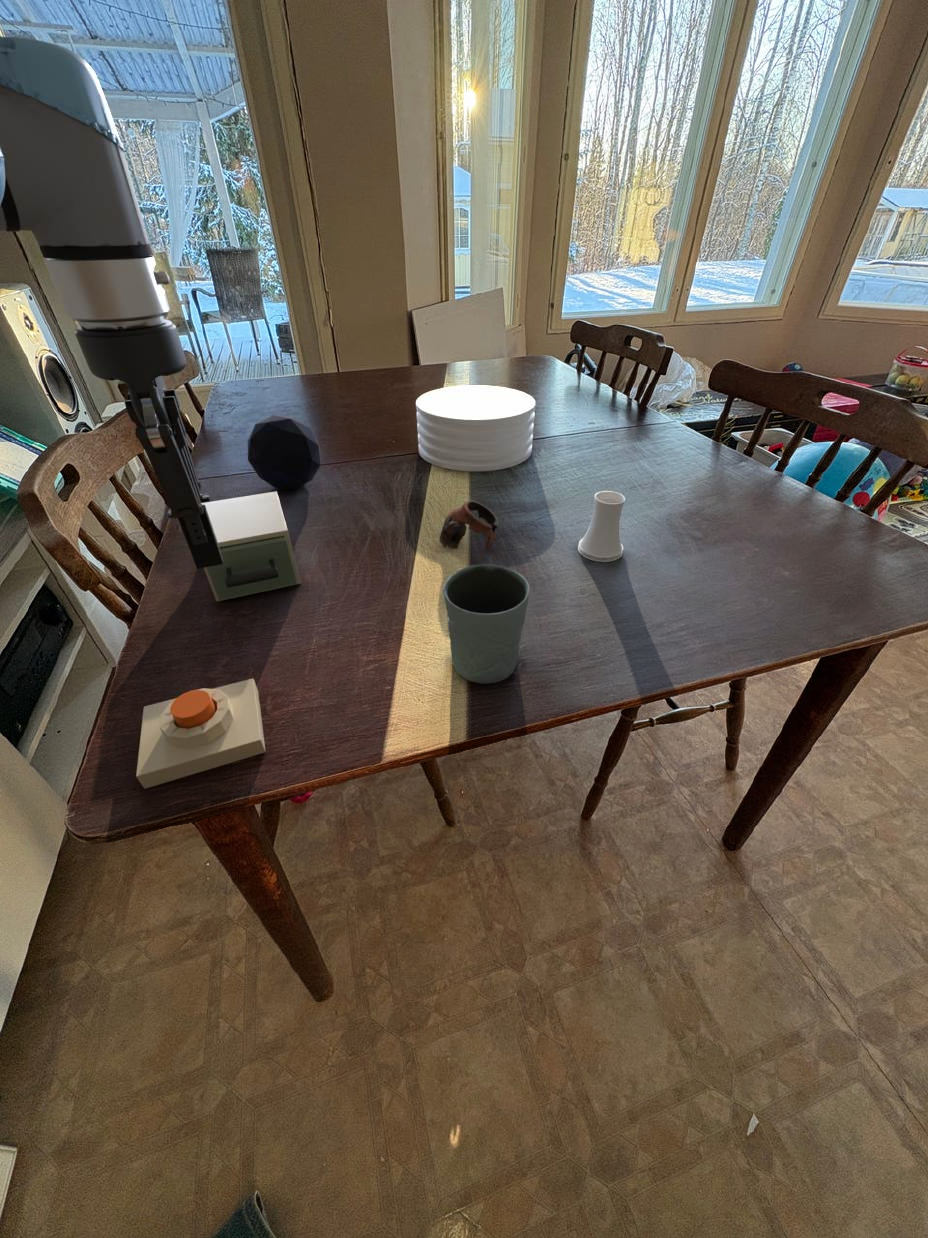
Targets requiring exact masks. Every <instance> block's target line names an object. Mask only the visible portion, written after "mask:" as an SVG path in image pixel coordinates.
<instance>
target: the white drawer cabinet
mask: <svg viewBox="0 0 928 1238" xmlns="http://www.w3.org/2000/svg"><path fill="white" fill-rule="evenodd" d="M280 501H281V500H280V498H279V495H278V491H277V490H275V491H270V492H263V493H257V494H250V495H245V496H244V495H243V496H238V497H231V498H226V499H219V500H214V501H212V500H211V501H210V502H204V503H201V504H203V505H205V506H206V509H207V512H208V515H209V518H210V521H211V524H212V527H213V530H214V533H215V536H216V539H217V542H218V545H219V548H220V547H225V546H231V545H236V544H241V543H247V542H252V541H258V540H263V539H268V538H274V537H279V536H280V537H284V536H285V539H286V543H287V546H288V550H289V554H290V558H291V562H292V566H293V570H294V574H295V578H296V582H297V584H293V585H288V586H284V587H279V588H274V589H270V590H265V591H260V592H256V593H251V594H246V595H242V596H237V597H232V598H228V599H223V600H219V598H218V596H217V593H216V591H215V588H214V585H213V583H212V580H211V577H210V575H209V572H208V569H207V567H205V568H203V569H204V572H205V575H206V578H207V581H208V583H209V586H210V588H211V591H212V592H213V596H214V599H215V601H216V602H222V601H225V600H230V599H235V598H240V597H244V596H249V595H253V594H258V593H262V592H263V593H264V592H268V591H273V590H277V589H282V588H286V587H292V586H296V585H300V584H301V583H302V581H301V578H300V574H299V571H298V565H297V562H296V558H295V553H294V550H293V545H292V542H291V538H290V534H289V530H288V527H287V523H286V520H285V516H284V512H283V509H282V505H281V502H280Z"/></svg>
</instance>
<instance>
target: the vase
mask: <svg viewBox="0 0 928 1238" xmlns="http://www.w3.org/2000/svg"><path fill="white" fill-rule="evenodd" d="M625 502H626V497H625V496H624V495H623V494H622V493H619V492H617V491H611V490H603V491H598V492H596V493H594V506H593V512H592V517H591V520H590V523H589V526H588V529H587V531H586V533H585V534H584V536H583V537H582V538H581V539H580V540H579V541H578V546H577V550H578V553H579V554H580V555H581V556H583V558H586V559H588V560H590V561H594V562H599V563H609V562H614V561H617V560H619V559H620V558H621V557H622V556H623V551H624V545H623V544H622V542H621V536H620V522H621V521H620V520H621V514H622V510H623V507H624V504H625Z"/></svg>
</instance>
